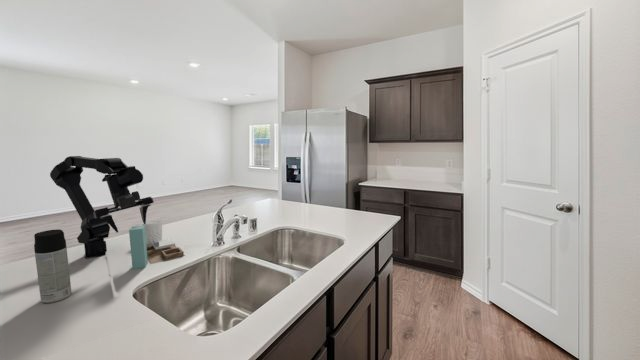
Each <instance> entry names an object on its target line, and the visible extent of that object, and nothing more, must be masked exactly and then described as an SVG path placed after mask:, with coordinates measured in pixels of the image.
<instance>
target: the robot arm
mask: <svg viewBox="0 0 640 360" xmlns="http://www.w3.org/2000/svg"><path fill="white" fill-rule="evenodd" d="M84 168H85V169H91V170H92V169H93V170H95V171H96V172H98V173H101V174H103V175H104V174H105V175H104V177H103V178H102V180H101V182H103V183H104V182H106V184H107V186H108V190H109V193H110V195H111V199H112V202H113V205H114V206H113V207H110V208H109V207H107V206H106V207H103V208H98V209H96V210H95V209H94V207H93V205H92V204H91V202H90V200H89V198H88V196H87V195H86V193H85V191H84V190H83V188H82V185H81V180H82V176H81V175H82V173H83V172H84ZM49 177H50V179H51V180H52V181H53V183H54V184H55V185H56V186H57V187H59V188H61V189H63V190H65V193H66V195H68V198H69V200H70V201H71V203H72V205H73V207H74V208H75V210H76V212H77V214H78V216H79V217H80V220H81V225H80V230H81V232H80V234H79V235H78V236H77V237H76V239H77V242H78V244H83V246H84V258H85V259H90V258H94V257H100V256H104V255H106V254H107V241H106V240H105V239H106V238H109V235H110V230H111V228H112V229H113V230H114V232H115V233H116V234H117V233H119V230H118V227H117V225H116V223H115V221H114V219H113V215H111V214H112V213H115V212H119V211H124V210H127V209H130V208H131V209H132V208H135V207H139V206H140V207H139V211H140V216H141V219H142V220H141V221H142V223H144V224H146V221H147V211H148V208H149V207H151V206H152V204H154V203H155V202H154V199H153V197H152V196H147V197H142V198H141V195H140V192H139V191H137V190H136V191H135V190H134V191H132V192H130V190H129V187H131V186H134V185H137V184H141V183H142V182H143V180H144V174H143V173H142V172H141V171H140V170H139V169H137V168H136V166H135V165H131V166H130V165H129V166H128V165H127V164H126V163H125V162H123V160H122V159H121V158H120V157H114V158H113V157H110V158H109V157H108V158H107V157H105V158H95V157H87V156H80V155H71V156H67V157H66V158H64V160H63V161H61V162H60V163H57V164H56V165H55V166H54V167H53V169H51V171H50V173H49Z"/></svg>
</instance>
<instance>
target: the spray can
mask: <svg viewBox="0 0 640 360" xmlns="http://www.w3.org/2000/svg"><path fill="white" fill-rule="evenodd" d="M33 237H34V245H33V249H34V257H35V264H36V271H37V273H36V275H37V280H38V286H39V289H38V290H39V295H40V296H39V297H40V301H41V303H42V304H52V303H57V302H60V301H62V300H65V299H66V298H69V297H70V295H72V283H71V275H70V266H69V258H68V249H67V242H66V237H65V232H64V231H63V229H59V228H58V229H50V230H43V231H39V232H36V233H35V234H34V236H33Z"/></svg>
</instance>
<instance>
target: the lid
mask: <svg viewBox="0 0 640 360" xmlns="http://www.w3.org/2000/svg"><path fill="white" fill-rule="evenodd" d="M152 245H153V247H154V248H155V250H157V249H162V248H167V247H171V246H176V243H175V242H174V240H172V239H171V238H170V239H162V241H158V240H157V239H156V238H155V239H153V243H152V244H151V246H152Z"/></svg>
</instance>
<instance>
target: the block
mask: <svg viewBox="0 0 640 360" xmlns="http://www.w3.org/2000/svg"><path fill="white" fill-rule="evenodd" d="M128 234H129V245H130V255H131V267H132V269H131V270H138V269H143V268H146V267H147V265H148V263H149V261H148V258H147V246H148V245H146V233H145V226H142V225H137V226H131V228H130V227H129V229H128Z"/></svg>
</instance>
